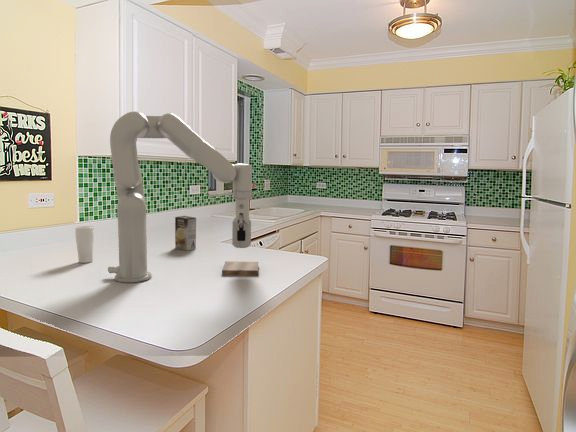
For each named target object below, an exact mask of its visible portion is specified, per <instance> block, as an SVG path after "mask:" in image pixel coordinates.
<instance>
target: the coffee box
mask: <svg viewBox="0 0 576 432" xmlns="http://www.w3.org/2000/svg"><path fill="white" fill-rule="evenodd" d="M174 218H175V219H174V221H175V222H174V228H175V229H174V230H175V231H174V236H175V237H174V241H175V243H174V245H175V249H179V250H183V251H190V250H196V249H197V217H193V216H188V215H180V216H175V217H174Z"/></svg>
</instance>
